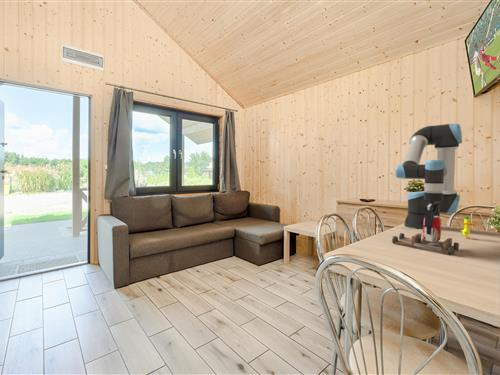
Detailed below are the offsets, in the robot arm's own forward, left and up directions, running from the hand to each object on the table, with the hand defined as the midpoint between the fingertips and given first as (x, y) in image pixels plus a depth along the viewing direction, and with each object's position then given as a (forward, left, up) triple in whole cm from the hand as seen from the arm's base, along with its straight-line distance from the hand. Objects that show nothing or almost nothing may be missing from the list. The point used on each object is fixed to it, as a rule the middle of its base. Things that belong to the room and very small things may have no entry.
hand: (431, 239), depth 124 cm
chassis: (0, -3, -4) cm, 5 cm away
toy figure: (-34, +8, -5) cm, 35 cm away
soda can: (0, 0, -1) cm, 1 cm away
